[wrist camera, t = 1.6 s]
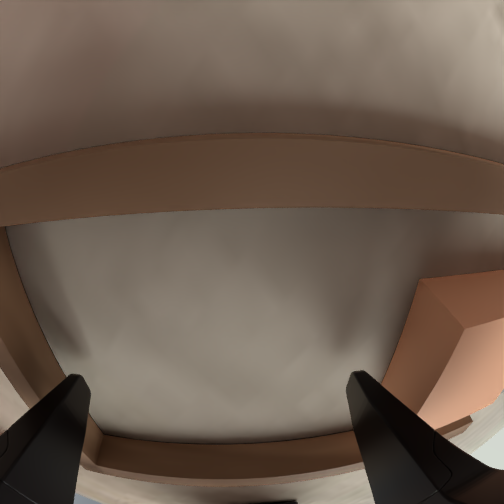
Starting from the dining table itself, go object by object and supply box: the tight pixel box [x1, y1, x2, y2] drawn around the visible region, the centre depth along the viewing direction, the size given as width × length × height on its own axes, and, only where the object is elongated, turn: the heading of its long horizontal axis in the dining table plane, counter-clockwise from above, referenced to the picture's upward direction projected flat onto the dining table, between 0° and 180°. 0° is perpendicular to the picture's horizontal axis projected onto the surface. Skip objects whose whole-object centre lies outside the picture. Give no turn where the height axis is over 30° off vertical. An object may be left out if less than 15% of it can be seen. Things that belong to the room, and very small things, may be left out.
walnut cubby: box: [0, 133, 504, 487], centre depth 9 cm, size 14×21×2 cm
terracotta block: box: [381, 270, 504, 430], centre depth 9 cm, size 6×6×3 cm
